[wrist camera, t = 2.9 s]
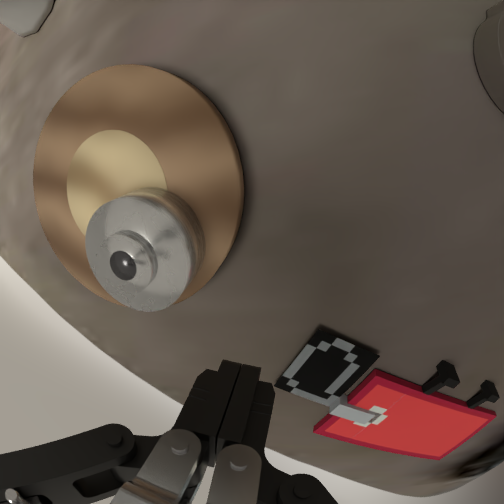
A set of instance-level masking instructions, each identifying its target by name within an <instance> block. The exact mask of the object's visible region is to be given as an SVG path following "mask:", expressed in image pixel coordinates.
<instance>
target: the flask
mask: <svg viewBox="0 0 504 504" xmlns="http://www.w3.org/2000/svg"><path fill="white" fill-rule="evenodd" d="M53 2H54V0H0V23H2V24H3V25H5V26H6V27H8V28H9V29H11V30H12V31H14V32H15V33H16V34H18V35H19V36H21V37H25V36H28V35H30V34H33V33H36V32H37V31H38V29H39V28H40V26H41V24H42V23H43V21H44V20H45V18H46V17H47V15H48V14H49V13H50V11H51V9H52V5H53Z"/></svg>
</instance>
